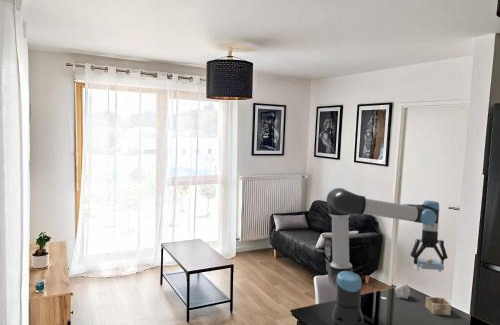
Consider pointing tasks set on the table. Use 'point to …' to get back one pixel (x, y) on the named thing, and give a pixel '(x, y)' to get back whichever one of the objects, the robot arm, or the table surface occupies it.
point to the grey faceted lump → (402, 291)
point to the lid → (430, 264)
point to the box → (438, 306)
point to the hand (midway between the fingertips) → (428, 270)
